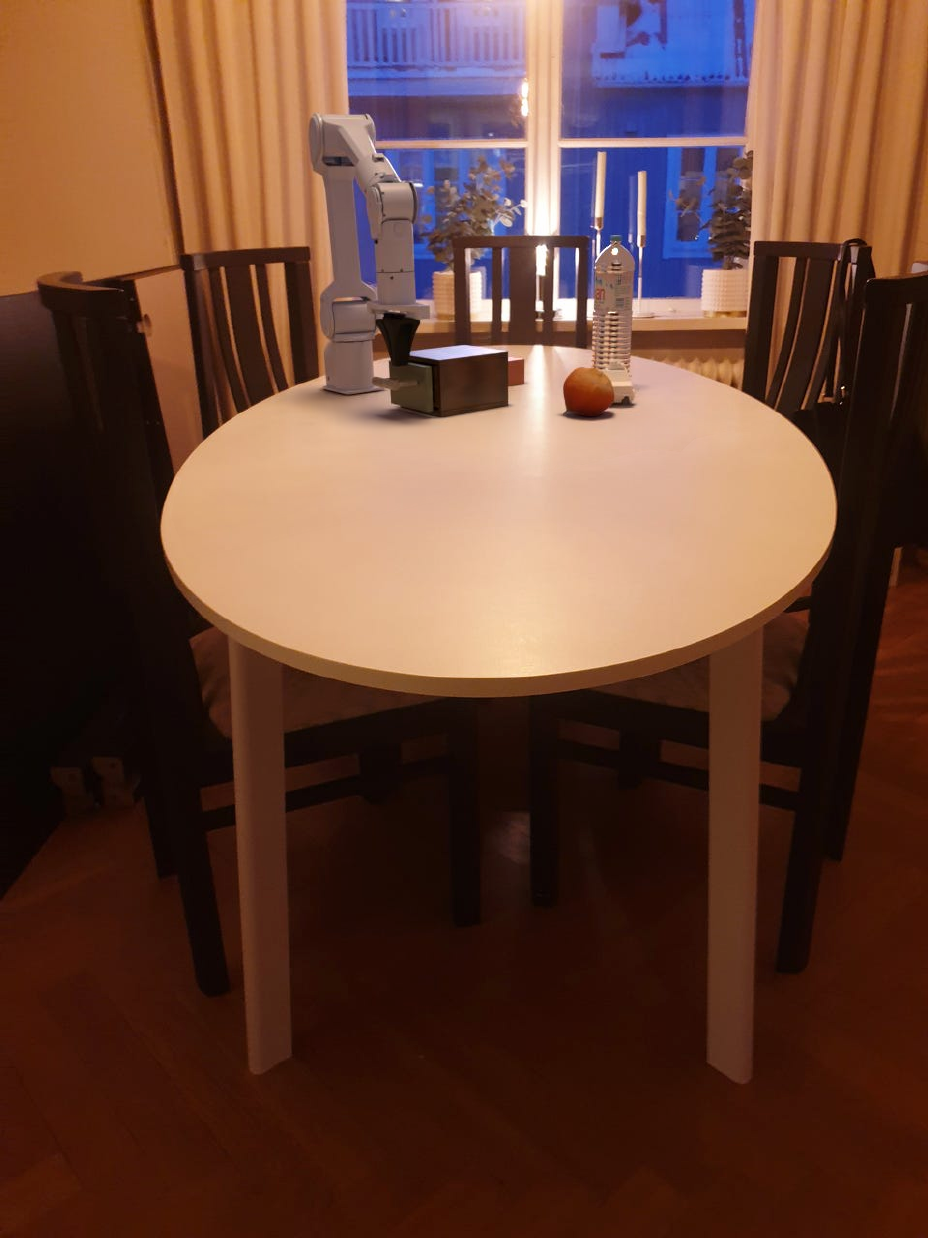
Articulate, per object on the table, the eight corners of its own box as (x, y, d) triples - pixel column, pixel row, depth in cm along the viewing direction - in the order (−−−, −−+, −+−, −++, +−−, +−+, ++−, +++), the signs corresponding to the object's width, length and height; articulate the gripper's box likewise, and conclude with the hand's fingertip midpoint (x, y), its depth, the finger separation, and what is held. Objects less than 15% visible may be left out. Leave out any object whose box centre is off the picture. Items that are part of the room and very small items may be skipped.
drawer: (401, 416, 136) (399, 370, 134) (366, 407, 144) (363, 363, 141) (490, 401, 146) (490, 358, 143) (452, 393, 153) (451, 352, 151)
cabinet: (441, 416, 140) (439, 359, 137) (400, 406, 149) (397, 352, 145) (508, 405, 148) (508, 351, 144) (465, 396, 156) (464, 344, 153)
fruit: (561, 397, 144) (587, 354, 140) (601, 426, 143) (628, 383, 139) (543, 406, 138) (569, 362, 133) (584, 436, 137) (612, 392, 132)
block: (490, 383, 168) (490, 358, 166) (509, 380, 170) (509, 356, 168) (505, 386, 165) (505, 361, 163) (524, 383, 167) (524, 358, 165)
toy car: (630, 394, 154) (632, 353, 151) (636, 407, 143) (638, 363, 141) (594, 394, 155) (596, 353, 152) (598, 407, 144) (599, 364, 141)
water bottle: (590, 383, 165) (595, 235, 155) (628, 383, 164) (635, 234, 154) (590, 390, 159) (595, 236, 148) (629, 390, 158) (637, 235, 148)
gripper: (347, 271, 137) (353, 363, 143) (399, 274, 126) (404, 373, 132) (386, 269, 141) (391, 358, 146) (440, 271, 130) (443, 368, 136)
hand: (400, 365), depth 139 cm, fingers closed
